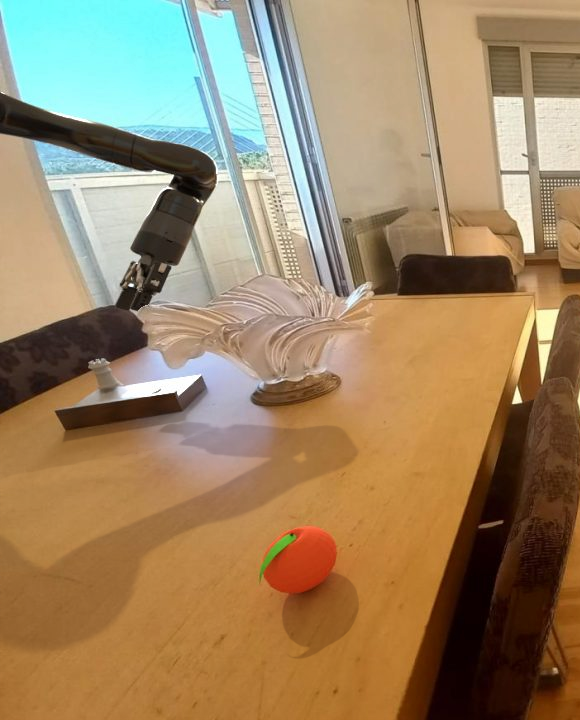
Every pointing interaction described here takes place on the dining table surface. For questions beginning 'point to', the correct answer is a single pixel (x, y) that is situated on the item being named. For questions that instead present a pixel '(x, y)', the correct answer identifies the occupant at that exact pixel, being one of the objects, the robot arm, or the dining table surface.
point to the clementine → (299, 559)
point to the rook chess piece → (104, 374)
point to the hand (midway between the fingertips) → (129, 310)
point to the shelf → (132, 402)
